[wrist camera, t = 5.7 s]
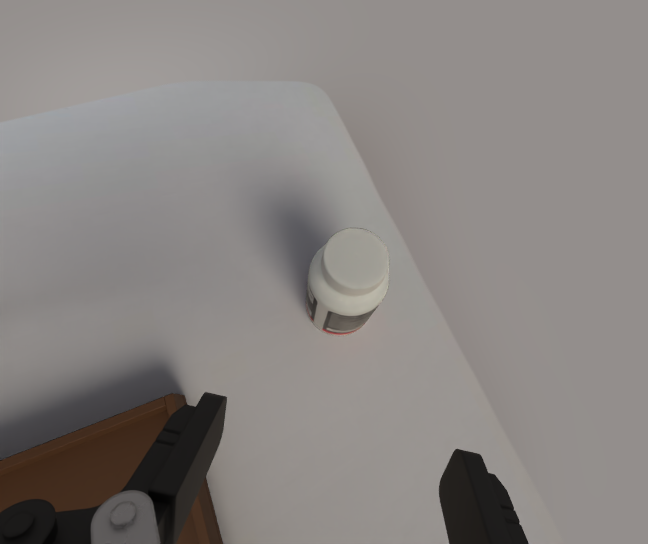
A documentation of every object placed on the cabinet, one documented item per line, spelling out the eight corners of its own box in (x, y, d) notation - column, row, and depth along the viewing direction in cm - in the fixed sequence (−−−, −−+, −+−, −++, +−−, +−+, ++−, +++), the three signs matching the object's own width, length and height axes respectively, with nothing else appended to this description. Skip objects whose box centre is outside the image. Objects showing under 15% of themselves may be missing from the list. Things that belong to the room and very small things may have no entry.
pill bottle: (381, 298, 30) (418, 249, 21) (346, 350, 29) (371, 320, 19) (329, 263, 31) (343, 201, 22) (292, 311, 29) (291, 265, 20)
